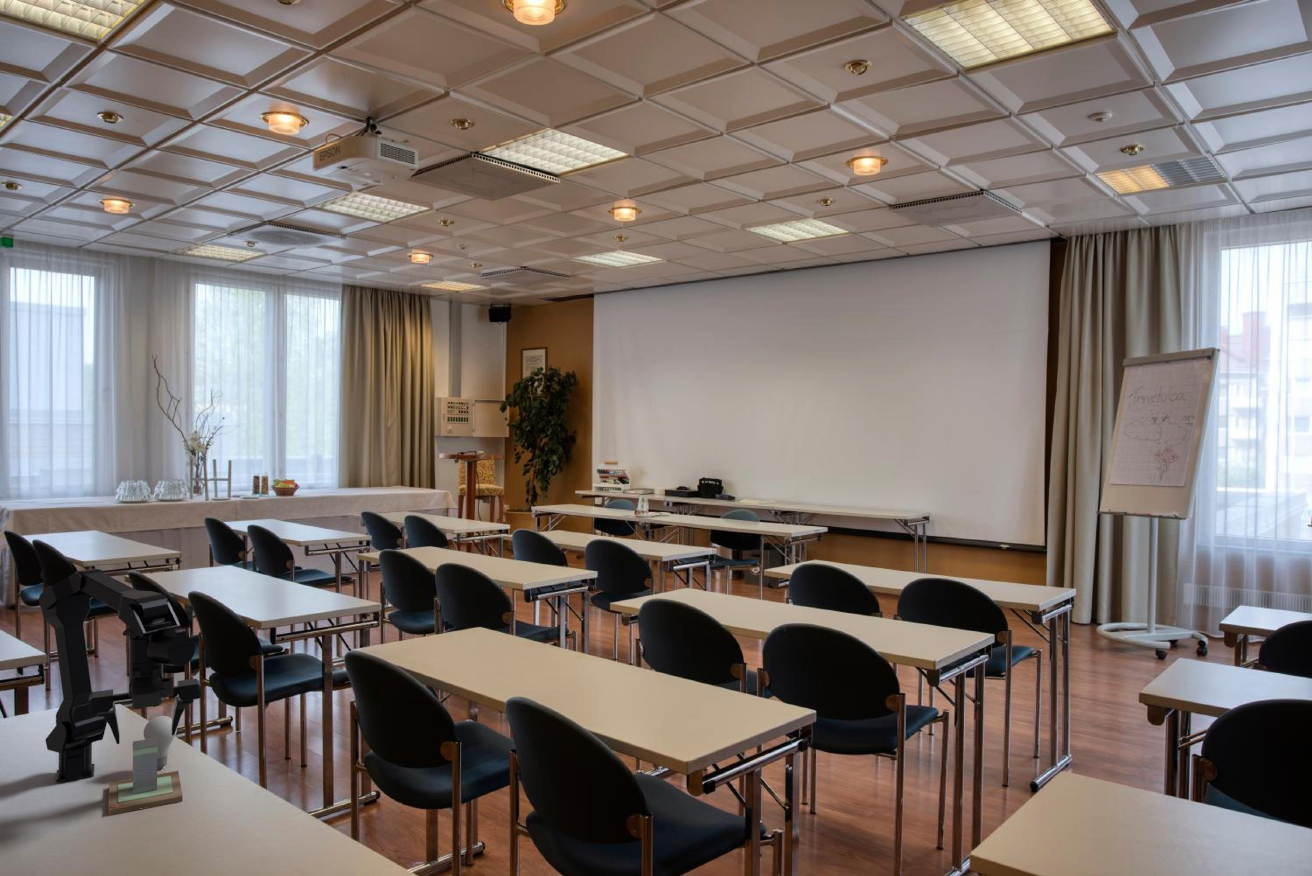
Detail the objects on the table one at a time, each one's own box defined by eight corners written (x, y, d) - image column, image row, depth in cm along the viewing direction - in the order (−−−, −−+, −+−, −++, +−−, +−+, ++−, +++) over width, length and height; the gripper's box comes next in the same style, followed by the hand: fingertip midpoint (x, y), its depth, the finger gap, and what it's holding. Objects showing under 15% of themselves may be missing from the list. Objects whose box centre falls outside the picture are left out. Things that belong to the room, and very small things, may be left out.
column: (132, 787, 168) (132, 741, 168) (156, 782, 170) (156, 737, 170) (132, 794, 165) (133, 748, 165) (157, 790, 167) (157, 744, 167)
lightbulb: (142, 776, 176) (142, 723, 176) (144, 765, 181) (144, 714, 181) (176, 771, 179) (176, 719, 179) (177, 761, 184) (177, 710, 184)
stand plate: (109, 788, 170) (109, 782, 170) (178, 775, 177) (178, 769, 177) (108, 815, 158) (108, 809, 158) (182, 801, 165) (182, 795, 165)
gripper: (87, 677, 155) (87, 762, 156) (203, 663, 165) (203, 743, 165) (89, 662, 165) (89, 743, 165) (198, 650, 175) (198, 726, 175)
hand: (146, 739), depth 167 cm, fingers open, 9 cm apart
